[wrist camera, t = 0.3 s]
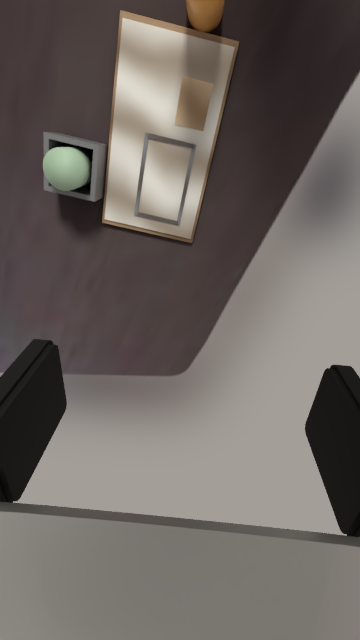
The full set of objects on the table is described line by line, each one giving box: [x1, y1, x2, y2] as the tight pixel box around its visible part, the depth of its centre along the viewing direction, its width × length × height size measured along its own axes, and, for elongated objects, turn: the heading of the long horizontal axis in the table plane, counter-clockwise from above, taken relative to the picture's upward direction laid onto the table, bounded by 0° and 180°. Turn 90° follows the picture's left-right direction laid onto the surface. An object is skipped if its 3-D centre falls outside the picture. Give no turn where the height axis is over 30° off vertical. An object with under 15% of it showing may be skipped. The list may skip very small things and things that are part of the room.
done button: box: [43, 147, 92, 191], centre depth 32 cm, size 4×4×4 cm
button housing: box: [44, 132, 108, 202], centre depth 34 cm, size 5×5×4 cm
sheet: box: [102, 10, 239, 243], centre depth 33 cm, size 19×11×1 cm, turn 168°
